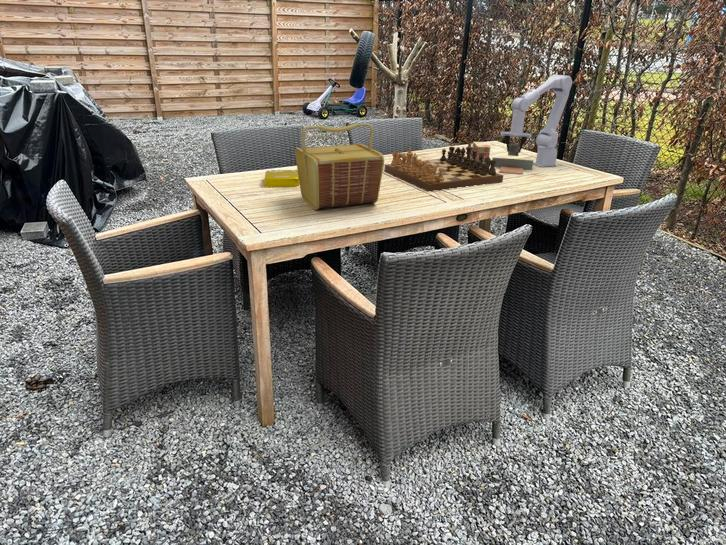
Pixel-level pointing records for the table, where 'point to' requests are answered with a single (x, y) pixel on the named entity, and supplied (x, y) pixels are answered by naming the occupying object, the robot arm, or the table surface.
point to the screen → (513, 163)
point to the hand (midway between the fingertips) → (513, 151)
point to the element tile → (281, 178)
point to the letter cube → (513, 149)
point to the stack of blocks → (481, 150)
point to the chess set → (444, 169)
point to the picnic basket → (339, 172)
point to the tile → (511, 170)
